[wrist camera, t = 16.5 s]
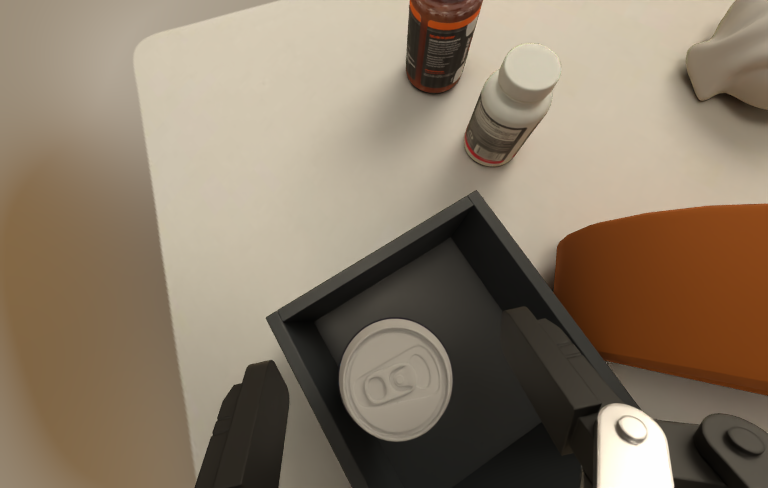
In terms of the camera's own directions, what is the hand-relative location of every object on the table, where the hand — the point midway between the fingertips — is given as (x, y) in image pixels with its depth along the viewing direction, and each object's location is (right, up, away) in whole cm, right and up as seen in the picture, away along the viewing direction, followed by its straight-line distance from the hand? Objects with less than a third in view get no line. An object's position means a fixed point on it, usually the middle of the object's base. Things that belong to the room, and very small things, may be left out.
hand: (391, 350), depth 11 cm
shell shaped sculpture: (+37, +22, +22) cm, 48 cm away
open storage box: (+4, -6, +15) cm, 17 cm away
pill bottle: (+10, +14, +20) cm, 27 cm away
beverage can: (0, -5, +15) cm, 16 cm away
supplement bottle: (+5, +22, +23) cm, 32 cm away
